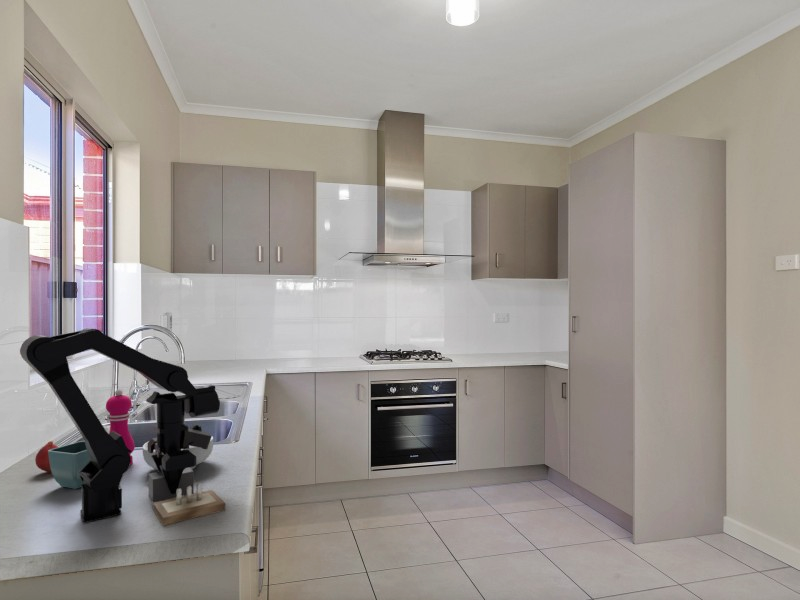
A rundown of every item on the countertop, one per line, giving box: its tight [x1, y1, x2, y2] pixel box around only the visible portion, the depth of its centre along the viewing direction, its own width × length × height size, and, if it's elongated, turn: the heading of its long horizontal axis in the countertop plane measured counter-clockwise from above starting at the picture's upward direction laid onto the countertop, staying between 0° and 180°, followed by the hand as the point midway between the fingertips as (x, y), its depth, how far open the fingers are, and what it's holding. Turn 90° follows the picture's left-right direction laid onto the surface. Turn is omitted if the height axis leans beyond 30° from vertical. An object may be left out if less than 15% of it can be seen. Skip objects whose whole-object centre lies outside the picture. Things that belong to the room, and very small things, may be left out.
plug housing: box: [148, 467, 195, 503], centre depth 114 cm, size 8×4×5 cm, turn 127°
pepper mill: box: [105, 388, 136, 466], centre depth 134 cm, size 7×7×20 cm
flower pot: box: [48, 440, 90, 490], centre depth 120 cm, size 9×9×9 cm
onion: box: [34, 440, 59, 474], centre depth 129 cm, size 6×6×8 cm
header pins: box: [175, 483, 203, 506], centre depth 106 cm, size 5×1×4 cm, turn 127°
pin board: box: [152, 489, 226, 526], centre depth 106 cm, size 12×9×2 cm
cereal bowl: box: [142, 436, 214, 470], centre depth 132 cm, size 17×17×7 cm
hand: (171, 490), depth 114 cm, fingers closed on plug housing, 4 cm apart
